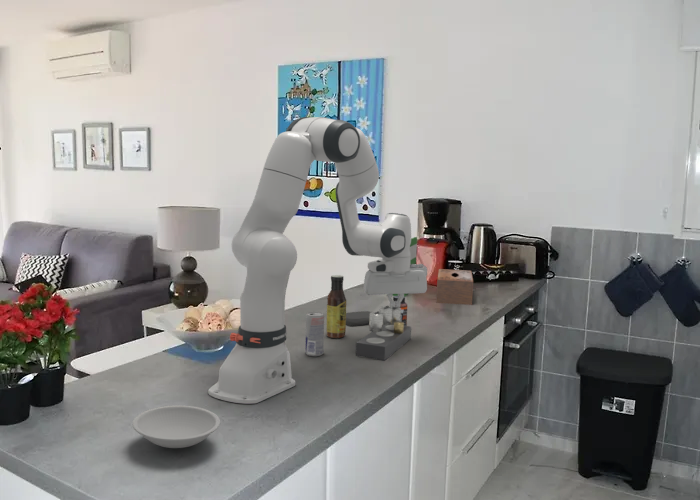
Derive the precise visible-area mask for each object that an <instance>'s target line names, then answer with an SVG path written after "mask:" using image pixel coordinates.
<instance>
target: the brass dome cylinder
mask: <svg viewBox="0 0 700 500" xmlns="http://www.w3.org/2000/svg"><path fill="white" fill-rule="evenodd" d="M403 330H404V323H403V322H394V333H397V334H401V333H403Z"/></svg>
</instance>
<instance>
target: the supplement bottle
mask: <svg viewBox="0 0 700 500" xmlns="http://www.w3.org/2000/svg"><path fill="white" fill-rule="evenodd" d="M398 298H399V296H393V297H392V301H397V300H398ZM405 301H406V296H405V297H404V298H403V300H402V301H401V302H400V308H401V316H400V322H403V323H404V326H407V325H408V303H407V302H405Z"/></svg>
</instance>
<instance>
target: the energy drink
mask: <svg viewBox="0 0 700 500" xmlns="http://www.w3.org/2000/svg"><path fill="white" fill-rule="evenodd" d="M324 343H325V314H324V313H323V312H321V311H311V312H310V311H309V312H306V315H305V347H304V349H305V354H306V356H309V357H320V356H322V355H323V354H324V351H325V350H324V347H325V345H324Z"/></svg>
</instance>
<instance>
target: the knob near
mask: <svg viewBox="0 0 700 500" xmlns="http://www.w3.org/2000/svg"><path fill="white" fill-rule="evenodd" d="M370 312H371V313H369V325H368V331H369V332H370V333H371V332H381V331H383V313H381V312H379V310H378V311H370Z"/></svg>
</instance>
